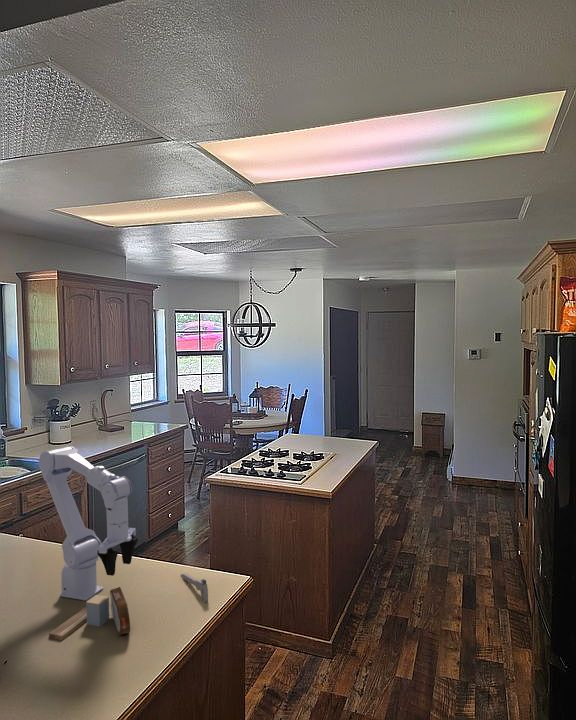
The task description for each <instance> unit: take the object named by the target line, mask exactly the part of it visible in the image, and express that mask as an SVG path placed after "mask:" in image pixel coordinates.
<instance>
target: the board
mask: <svg viewBox="0 0 576 720" xmlns="http://www.w3.org/2000/svg"><path fill="white" fill-rule="evenodd" d="M85 623H87V608H86V606H84V607H83V608H82V609H80V610H79V611H77V612H76V613H75V614H73V615H72V616H71V617H70V618H68V619H67V620H65V621H64V622H62V624H60V625H59V626H57V627H56V628H55V629H53V630H52V631H50V632H49V633H48V638H50V639H55V640H61V641H63V640H64V639H66V638H67V637H68V636H69V635H71V634H72V633H74V632H75V631H76V630H77V629H78V628H79V627H81V626H82V625H84V624H85Z"/></svg>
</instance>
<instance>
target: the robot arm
mask: <svg viewBox="0 0 576 720" xmlns="http://www.w3.org/2000/svg"><path fill="white" fill-rule="evenodd" d="M37 463H38V467H39V470H40V472H41V475H42V478H43V480H44V481H45V482H46V485H47V488H48V491H49V493H50V495H51V497H52V500H53V504H54V506H55V508H56V511H57V513H58V516H59V518H60V521H61V524H62V527H63V529H64V531H65V534H66V537H65V539H64V540H63V542H62V544H61V549H62V553H63V554H62V555H63V561H64V563H65V565H63V567H62V570H61V573H60V574H61V579H60V580H61V593H60V594H59V597H63V598H69V599H74V600H79V601H88V600H90V599H91V598H92V597H94V596H95V595H97V594H98V593H99V592H100V591H102V590H103V589H104V586H101V585H98V583H97V581H98V580H97V578H98V577H97V576H98V575H97V574H98V573H97V562H98V561H99V559H100V560H101V562H102V564H103V566H104V570H105V574H106V576H111V577H113V576H115V574H116V562H117V557H118V554H119V552H121V557H122V558H121V561H122V563H123V565H131V563H132V558H133V554H134V550H135V547H136V545H137V543H138V541H139V537H138V536H136V535H137V530H136V527H129V508H128V507H129V505H128V504H129V503H128V502H129V501H128V496H130V495H131V493H132V492H133V491H132V490H133V489H132V488H133V486H132V482H131V481H130V480H129V478H128V477H126V476H125V475H123V476H122V475H121V476H119V475H116V474H114V473H112V472H110V471H109V470H107V469H106V468H105V466H103V465H96V466H94V465H92V464H91V463H90V462H89V461H87V459H85V458H84V457H83V456H82V455H80V452H79V449H77V448H76V447H74V446H72V445H68V446H65V447H60V448H56V449H50V450H44V451H42V452H41V453H40V455H39V458H38V462H37ZM73 471H75V473H76V472H77V473H78V474H80V475H81V476H84V477H85V478H86V483H87V484H89V485H90V486H91V487H93V488H94V489H96V490H97V491H99V492H100V495H101V497H102V499H103V503H104V506H105V508H106V509H105V511H106V534H107V537H106V538H105V539H104V541H103V542H101V541H102V540H101V539H99V537H98V536H97V535H96V532H95V530H92V529H90V528H87V527H86V526H85V524H84V521H83V519H82V516H81V514H80V511H79V508H78V505H77V504H76V501H75V499H74V496H73V493H72V491H71V489H70V486H69V484H68V481H67V480H68V477H69V476H70V475H71V474H72V472H73ZM118 545H119V546H120V551H118V550H114V549H113V548H114V547H116V546H118Z"/></svg>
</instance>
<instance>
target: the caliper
mask: <svg viewBox="0 0 576 720" xmlns="http://www.w3.org/2000/svg"><path fill="white" fill-rule="evenodd" d="M180 577H181V578H182V579H183V580H184V581H186V582H188V583H189V584H191V585H193V586H194V587H195V590H197V591H200V597H201V600H202V601H203V602H204V603H207V602H208V601H209V589H208V584H207V580H206V579H205V578H203V579H199V578H198V579H196V578H194V577H193V576H191V575H190V574H187V573H186V572H183V573H181V574H180Z"/></svg>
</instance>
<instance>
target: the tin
mask: <svg viewBox="0 0 576 720" xmlns="http://www.w3.org/2000/svg"><path fill="white" fill-rule="evenodd" d="M109 597H110V609H111V614H112V619H113V622H114V625H115V628H116V630H117V633H118V635H119V636H121V635H125V634H128V633H131V620H130V614H129V613H130V612H129V608H128V603H127V600H126V597H125V595H124V593H123V591H122V588H121V586H119V587H115V588H112V589H110V591H109Z"/></svg>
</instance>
